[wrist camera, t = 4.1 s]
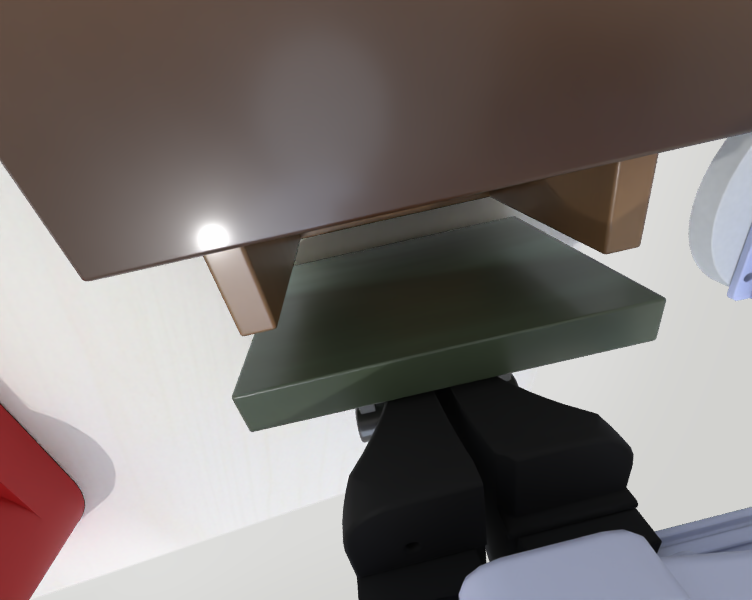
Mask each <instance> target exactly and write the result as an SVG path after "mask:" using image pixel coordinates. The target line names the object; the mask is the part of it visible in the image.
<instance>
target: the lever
mask: <svg viewBox="0 0 752 600" xmlns="http://www.w3.org/2000/svg"><path fill="white" fill-rule="evenodd" d="M83 512H84V499H83V495H82V493H81V491H80V489H79V488H78V486H77V485H76V484H75V483H74V481H73V480H72V479H71V478H70V477H69V476H68V475H67V474H66V473H65V472H64V471H63V470H62V469H61V468H60V467H59V466H58V465H57V463H56V462H55V461H54V460H53V459H52V458H51V457H50V456H49V455H48V454H47V453H46V452H45V451H44V450H43V449H42V448H41V447H40V446H39V444H38V443H37V442H36V441H35V440H34V439H33V438H32V437H31V436H30V435H29V434H28V433H27V432H26V431H25V430H24V429H23V428H22V427H21V425H20V424H19V423H18V422H17V421H16V420H15V419H14V418H13V417H12V416H11V415H10V414H9V413H8V412H7V411H6V410H5V409H4V408H3V406H2V405H1V404H0V600H29V599H30V598H31V596H32V594H33V593H34V591H35V590H36V588H37V587H38V585H39V583H40V582H41V580H42V579H43V577H44V575H45V574H46V572H47V571H48V569H49V567H50V566H51V564H52V563H53V561H54V560H55V558H56V556H57V555H58V553H59V552H60V550H61V548H62V547H63V545H64V544H65V542H66V541H67V539H68V537H69V536H70V534H71V533H72V531H73V529H74V528H75V526H76V525H77V523H78V521H79V520H80V518H81V517H82V515H83Z"/></svg>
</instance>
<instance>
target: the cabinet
mask: <svg viewBox="0 0 752 600" xmlns="http://www.w3.org/2000/svg"><path fill="white" fill-rule="evenodd" d="M750 132H752V0H0V161H1V163H2V164H3V166H4V167H5V168H6V170H7V171H8V173H9V174H10V176H11V177H12V179H13V180H14V181H15V183H16V184H17V186H18V187H19V189H20V190H21V192H22V193H23V195H24V196H25V197H26V199H27V200H28V202H29V203H30V205H31V206H32V208H33V209H34V210H35V212H36V213H37V215H38V216H39V218H40V219H41V221H42V222H43V224H44V225H45V226H46V228H47V229H48V231H49V232H50V234H51V235H52V237H53V238H54V239H55V241H56V242H57V244H58V245H59V247H60V248H61V250H62V251H63V252H64V254H65V255H66V257H67V258H68V260H69V261H70V263H71V264H72V266H73V267H74V268H75V270H76V271H77V273H78V274H79V276H80V277H81V278H82V279H83V280H84V281H93V280H98V279H102V278H107V277H111V276H116V275H120V274H124V273H129V272H133V271H138V270H142V269H147V268H151V267H155V266H160V265H164V264H169V263H173V262H178V261H182V260H186V259H191V258H195V257H200V256H204V255H209V254H213V253H217V252H222V251H226V250H231V249H235V248H240V247H244V246H249V245H253V244H257V243H262V242H266V241H271V240H275V239H280V238H284V237H288V236H293V235H297V234H302V233H306V232H311V231H315V230H319V229H324V228H328V227H333V226H337V225H342V224H346V223H350V222H355V221H359V220H364V219H368V218H373V217H377V216H382V215H386V214H390V213H395V212H399V211H404V210H408V209H413V208H417V207H421V206H426V205H430V204H435V203H439V202H444V201H448V200H452V199H457V198H461V197H466V196H470V195H475V194H479V193H483V192H488V191H492V190H497V189H501V188H506V187H510V186H515V185H519V184H523V183H528V182H532V181H537V180H541V179H546V178H550V177H554V176H559V175H563V174H568V173H572V172H577V171H581V170H585V169H590V168H594V167H599V166H603V165H608V164H612V163H617V162H621V161H625V160H630V159H634V158H639V157H643V156H648V155H652V154H656V153H661V152H665V151H670V150H674V149H679V148H683V147H687V146H692V145H696V144H701V143H705V142H710V141H714V140H718V139H723V138H727V137H732V136H736V135H741V134H745V133H750Z"/></svg>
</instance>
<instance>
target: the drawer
mask: <svg viewBox="0 0 752 600" xmlns="http://www.w3.org/2000/svg"><path fill="white" fill-rule="evenodd" d="M657 158H658V153H656V154H652V155H648V156H643V157H639V158H634V159H630V160H625V161H621V162H617V163H612V164H608V165H603V166H599V167H594V168H590V169H585V170H581V171H577V172H572V173H568V174H563V175H559V176H554V177H550V178H546V179H541V180H537V181H532V182H528V183H523V184H519V185H515V186H510V187H506V188H501V189H497V190H492V191H488V192H483V193H479V194H475V195H470V196H466V197H461V198H457V199H452V200H448V201H444V202H439V203H435V204H430V205H426V206H421V207H417V208H413V209H408V210H404V211H399V212H395V213H390V214H386V215H382V216H377V217H373V218H368V219H364V220H359V221H355V222H350V223H346V224H342V225H337V226H333V227H328V228H324V229H319V230H315V231H311V232H306V233H302V234H297V235H293V236H288V237H284V238H280V239H275V240H271V241H266V242H262V243H257V244H253V245H249V246H244V247H240V248H235V249H231V250H226V251H222V252H217V253H213V254H209V255H204V256H203V257H204V259H205V261H206V263H207V265H208V267H209V270H210V272H211V274H212V276H213V278H214V280H215V282H216V284H217V286H218V288H219V291H220V293H221V295H222V297H223V299H224V301H225V303H226V305H227V307H228V309H229V311H230V314H231V316H232V318H233V320H234V322H235V324H236V326H237V328H238V330H239V332H240V334H241V335H242V336H247V335H251V334H254V337H253V340H252V343H251V345H250V348H249V351H248V354H247V356H246V359H245V362H244V365H243V367H242V370H241V373H240V376H239V378H238V381H237V384H236V387H235V389H234V392H233V395H232V399H233V401H234V403H235V405H236V407H237V408H238V410H239V412H240V414H241V416H242V417H243V419H244V421H245V423H246V425H247V426H248V428H249V430H250V431H251V432H254V431H259V430H263V429H268V428H272V427H276V426H281V425H285V424H290V423H294V422H298V421H303V420H307V419H311V418H316V417H320V416H325V415H329V414H333V413H338V412H342V411H346V410H351V409H355V413H356V420H357V426H358V431H359V434H360V438H361V440H362V442H369V440H370V438H371V436H372V434H373V432H374V430H375V428H376V426H377V423H378V421H379V418H380V416H381V413H382V410H383V408H384V405H385V402H386V401H390V400H395V399H399V398H403V397H408V396H412V395H417V394H421V393H425V392H430V391H434V390H439V389H443V388H447V387H452V386H456V385H460V384H465V383H469V382H474V381H478V380H482V379H487V378H491V377H495V376H498V377H499V378H501V379H503V380H505V381H507V382H509V383H511V384H513V385H516V386H518V384H517V381H516V379H515V378H514V376H513V375H512V373H513V372H517V371H522V370H526V369H531V368H535V367H539V366H544V365H548V364H552V363H556V362H561V361H566V360H570V359H574V358H579V357H583V356H588V355H592V354H596V353H601V352H605V351H609V350H613V349H618V348H623V347H627V346H631V345H636V344H640V343H644V342H649V341H653V340H655V339H656V337H657V333H658V329H659V326H660V322H661V318H662V314H663V310H664V306H665V303H666V299H665V298H664V297H663V296H661V295H659V294H657V293H655V292H653V291H652V290H650V289H648V288H646V287H644V286H642V285H640V284H638V283H637V282H635V281H633V280H631V279H629V278H628V277H626V276H624V275H622V274H620V273H618V272H616V271H615V270H613V269H611V268H609V267H607V266H605V265H604V264H602V263H600V262H598V261H596V260H594V259H593V258H591V257H589V256H587V255H585V254H583V253H581V252H580V251H578V250H576V249H574V248H572V247H570V246H569V245H567V244H565V243H563V242H561V241H559V240H558V239H556V238H554V237H552V236H550V235H548V234H547V233H545V232H543V231H541V230H539V229H537V228H535V227H534V226H532V225H530V224H528V223H526V222H524V221H523V220H521V219H519V218H517V217H515V216H513V217H509V218H504V219H500V220H495V221H491V222H486V223H482V224H478V225H473V226H469V227H464V228H460V229H455V230H451V231H447V232H442V233H438V234H433V235H429V236H424V237H420V238H416V239H411V240H407V241H402V242H398V243H393V244H389V245H385V246H380V247H376V248H371V249H367V250H362V251H358V252H354V253H349V254H345V255H340V256H336V257H332V258H327V259H323V260H318V261H314V262H309V263H305V264H301V265H296V266H293V265H294V262H295V258H296V254H297V250H298V247H299V243H300V239H303V238H308V237H312V236H317V235H321V234H326V233H330V232H334V231H339V230H343V229H348V228H352V227H357V226H361V225H365V224H370V223H374V222H379V221H383V220H388V219H392V218H396V217H401V216H405V215H410V214H414V213H419V212H423V211H427V210H432V209H436V208H441V207H445V206H450V205H454V204H459V203H463V202H467V201H472V200H476V199H481V198H485V197H492V198H494V199H496V200H497V201H499V202H501V203H503V204H505V205H507V206H509V207H511V208H513V209H515V210H517V211H519V212H521V213H523V214H525V215H527V216H529V217H531V218H533V219H535V220H537V221H539V222H541V223H543V224H545V225H547V226H549V227H551V228H553V229H555V230H557V231H559V232H561V233H563V234H565V235H567V236H569V237H571V238H573V239H575V240H577V241H579V242H581V243H583V244H585V245H587V246H589V247H591V248H593V249H595V250H597V251H599V252H601V253H603V254H610V253H614V252H619V251H623V250H627V249H632V248H636V247H639V246H640V243H641V239H642V234H643V229H644V223H645V219H646V214H647V208H648V203H649V198H650V193H651V188H652V183H653V178H654V173H655V168H656V163H657ZM518 387H519V386H518Z"/></svg>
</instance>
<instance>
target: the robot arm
mask: <svg viewBox="0 0 752 600" xmlns="http://www.w3.org/2000/svg"><path fill="white" fill-rule="evenodd" d="M727 296H728V298H731V299H733V300H735V301H739V300H744V299H748V298H750V299H752V224H751V227H750V230H749V233H748V235H747V238H746V241H745V244H744V247H743V249H742V252H741V255H740V258H739V261H738V263H737V266H736V269H735V272H734V275H733V277H732V280H731V283H730V286H729V289H728V292H727ZM632 465H633V452H632V450H631V447H630V446H629V445H628V444H627V443H626V442H625V440H624V439H623V438H622V437H621V436H620V435H619V434H618V433H617V432H616V431H615V430H614V429H613V428H612V427H611V426H610V425H609V424H608V423H607V422H606V421H604V420H603V419H602V418H601V417H600V416H599V415H598V414H596V413H593V412H589V411H586V410H582V409H579V408H575V407H572V406H568V405H565V404H562V403H559V402H556V401H553V400H550V399H547V398H545V397H542V396H539V395H536V394H534V393H532V392H529V391H527V390H525V389H522V388H520V387H518V386H516V385H513V384H511V383H509V382H507V381H505V380H503V379H501V378H499V377H498V376H495V377H491V378H487V379H482V380H478V381H474V382H469V383H465V384H460V385H456V386H452V387H447V388H443V389H439V390H434V391H430V392H425V393H421V394H417V395H412V396H408V397H403V398H399V399H395V400H390V401H386V402H385V405H384V408H383V410H382V413H381V416H380V418H379V421H378V423H377V426H376V428H375V430H374V432H373V434H372V436H371V438H370V440H369V442H368V444H367V446H366V448H365V450H364V452H363V454H362V456H361V457H360V459H359V460H358V462H357V464H356V465H355V467H354V469H353V470H352V472H351V474H350V475H349V479H348V483H347V488H346V494H345V500H344V507H343V520H342V525H343V544H344V549H345V552H346V554H347V556H348V558H349V561H350V563H351V565H352V567H353V569H354V571H355V573H356V576H357V583H358V598H359V600H752V507H749V508H745V509H741V510H737V511H734V512H729V513H725V514H722V515H718V516H714V517H710V518H706V519H702V520H699V521H694V522H690V523H686V524H682V525H679V526H675V527H671V528H667V529H663V530H659V531H655V532H654V531H653V529H652V528H651V527H650V525H649V524H648V523H647V522H646V521H645V519H644V518H643V517H642V515H641V514H640V513H639V512H638V510H637V509H636V507H637V506H638V503H637V500H636V499H635V498H634V496H633V495H632V494H631V493H630V491H629V490H628V489H627V488H626V486H627V483H628V479H629V476H630V472H631V469H632ZM485 549H486V550H485ZM486 552H487V555H488V558H489V561H490V562H488V563H486Z"/></svg>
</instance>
